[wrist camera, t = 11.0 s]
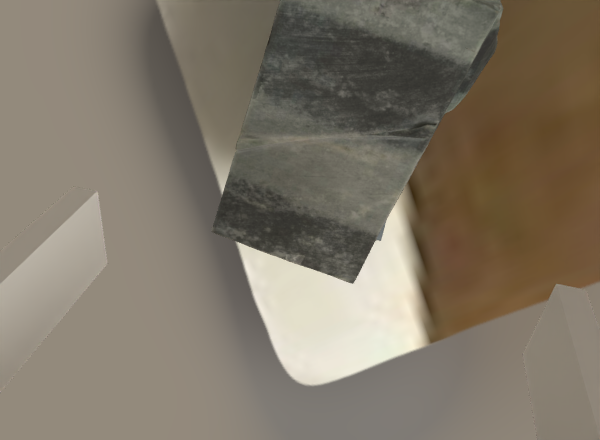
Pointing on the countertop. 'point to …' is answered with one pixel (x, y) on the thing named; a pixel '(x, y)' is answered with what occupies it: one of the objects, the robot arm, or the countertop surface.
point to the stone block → (346, 121)
